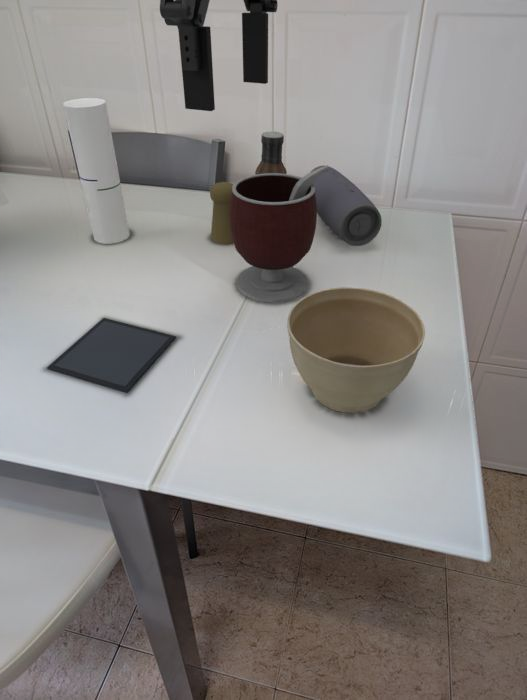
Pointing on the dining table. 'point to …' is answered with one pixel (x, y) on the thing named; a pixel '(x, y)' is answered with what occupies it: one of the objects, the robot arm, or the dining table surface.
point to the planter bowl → (353, 345)
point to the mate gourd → (273, 232)
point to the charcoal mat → (113, 354)
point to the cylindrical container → (97, 168)
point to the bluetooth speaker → (346, 208)
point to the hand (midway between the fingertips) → (230, 94)
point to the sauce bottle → (271, 154)
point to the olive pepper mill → (221, 213)
